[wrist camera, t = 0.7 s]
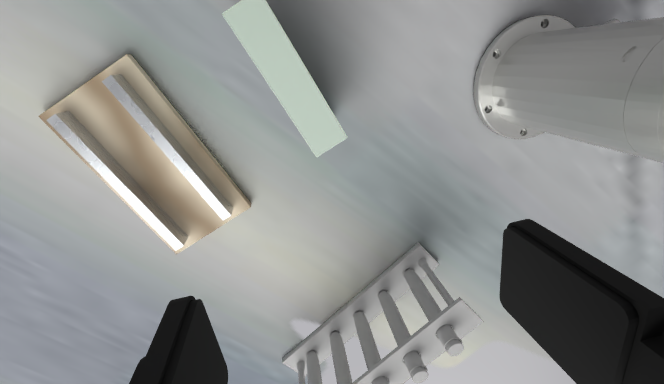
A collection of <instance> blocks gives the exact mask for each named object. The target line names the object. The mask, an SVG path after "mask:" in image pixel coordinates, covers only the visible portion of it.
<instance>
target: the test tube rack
mask: <svg viewBox="0 0 664 384" xmlns="http://www.w3.org/2000/svg"><path fill="white" fill-rule="evenodd" d="M439 265H440V264H439V263H438V262H437V261H436V260H435V259H434V258H433V257H432V256H431V255H430V254H429V253H428V252H427V250H426V249H425V248H424V247H423V246H422V245H421V244H420V243H417V244H416V245H415V246H413V247H412V248H411V249H410V250H409V251H408V252H406V253H405V254H404V255H403V256H402V257H401V258H399V259H398V260H397V261H396V262H395V263H394V264H392V265H391V266H390V267H389V268H388V269H387V270H385V271H384V272H383V273H382V274H381V275H380V276H378V277H377V278H376V279H375V280H374V281H372V282H371V283H370V284H369V285H368V286H367V287H365V288H364V289H363V290H362V291H361V292H360V293H358V294H357V295H356V296H355V297H354V298H353V299H351V300H350V301H349V302H348V303H347V304H346V305H344V306H343V307H342V308H341V309H340V310H339V311H337V312H336V313H335V314H334V315H333V316H332V317H330V318H329V319H328V320H327V321H326V322H324V323H323V324H322V325H321V326H319V327H318V328H317V329H316V330H315V331H314V332H312V333H311V334H310V335H309V336H308V337H306V338H305V339H304V340H303V341H302V342H301V343H300V344H299V345H298V346H296V347H295V348H294V349H293V350H292V351H290V352H289V353H288V354H287V355H286V356H285V357H283V358H282V363H283V364H285V365H287V366H288V367H290V368H291V369H293V370H295V371H296V372H298V376H299V384H305V376H306V375H307V376H308V384H322V379H321V371H320V364H321V363H322V362H323V361H324V360H325V359H327V358H328V357H329V356H330V355H331V354H332V357H333V362H334V368H335V373H336V379H337V384H371V383H372V384H404V383H405V382H406V381H407V380H409V379H410V378H412V380H413V381H414V382H415V383H421V382H423V381H425V380H426V379H427V378H428V373H427V368H426V366H427V365H428V364H429V363H431V362H432V361H433V360H435V359H436V358H437V357H439V356H440V355H441V354H442V353H444V352H445V351H446V352H448V354H449V355H450V356H457V355H459V354H460V353H461V352H462V351H463V349H464V346H463V344H462V341H461V339H462V338H463V337H464V336H466V335H467V334H468V333H470V332H471V331H472V330H473V329H475V328H476V327H477V326H479V325H480V324H481V323H482V322H484V321H483V320H482V319H481V318H480V317H479V316H478V315H477V314H476V313H475V312H474V311H473V310H472V309H471V308H470V307H469V306H468V305H467V304H466V303H465V302H464V301H463V300H462V299H461V298H460V297H459V298H458V299H457V300H455V301H454V300H453V299H452V297H451V296H450V295H449V293H448V292H447V291H446V289H445V288H444V286H443V285H442V284H441V282H440V281H439V280H438V278H437V277H436V276H435V274H434V273H433V270H434V269H435V268H436V267H438V266H439ZM426 276H428V277H429V279H430V280H431V281H432V283H433V284H434V286H435V287H436V289H437V290H438V292H439V293H440V294H441V296H442V297H443V299H444V300H445V302H446V303H447V305H448V307H447V308H445V309H444V310H443V311H441V310H440V308H439V306H438V305H437V303H436V302H435V300H434V299H433V297H432V296H431V294H430V293H429V291H428V290H427V288H426V286H425V285H424V283H423V282H422V279H423V278H424V277H426ZM410 289H411V291H412V292H413V294H414V296H415V298H416V299H417V301H418V303H419V305H420V306H421V308H422V310H423V312H424V313H425V315H426V317H427V319H428V320H429V322H428V323H427V324H425V325H424V326H423V327H422V328H420V329H419V330H418V331H417V332H415V333H414V334H413V335H412V336H410V334H409V331H408V329H407V327H406V325H405V323H404V321H403V319H402V317H401V315H400V313H399V311H398V308H397V306H396V304H395V301H397V300H398V299H399V298H400V297H401V296H403V295H404V294H405V293H406V292H407V291H409V290H410ZM383 311H384V314H385V316H386V318H387V321H388V323H389V326H390V328H391V330H392V333H393V335H394V338H395V340H396V342H397V345H398V347H397V348H395V349H394V350H393V351H392V352H390V353H389V354H388V355H387V356H386V357H384V358H383V359H382V360H381V359H380V355H379V353H378V350H377V347H376V344H375V341H374V338H373V335H372V332H371V329H370V326H369V323H370V322H371V321H372V320H374V319H375V318H376V317H377V316H378V315H380V314H381V313H382V312H383ZM451 326H452V327H453V328H452V327H451ZM357 333H358V337H359V340H360V344H361V347H362V351H363V354H364V358H365V361H366V365H367V368H368V371H367V372H365V373H364V374H363V375H362V376H361V377H359V378H358V379H357V380H355V381H354V382H353V383H352V379H351V375H350V370H349V365H348V362H347V357H346V352H345V348H344V344H345V343H346V342H347V341H348V340H350V339H351V338H352V337H353V336H354V335H356V334H357ZM436 334H437V335H436ZM419 353H420V355H419ZM403 359H404V361H403ZM387 378H388V379H387Z"/></svg>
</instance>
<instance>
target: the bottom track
mask: <svg viewBox="0 0 664 384" xmlns="http://www.w3.org/2000/svg"><path fill="white" fill-rule="evenodd" d="M39 117H40V118H41V119H42V120H43V121H44V122H45V123H46V124H47V125H48V126H49V127H50V128H51V129H52V130H53V131H54V132H55V133H56V134H57V135H58V136H59V137H60V138H61V139H62V140H63V141H64V142H65V143H66V144H67V145H68V146H69V147H70V148H71V149H72V150H73V151H74V152H75V153H76V154H77V155H78V156H79V157H80V158H81V159H82V160H83V161H84V162H85V163H86V164H87V165H88V166H89V167H90V168H91V169H92V170H93V171H94V172H95V173H96V174H97V175H98V176H99V177H100V178H101V179H102V180H103V181H104V182H105V183H106V184H107V185H108V186H109V187H110V188H111V189H112V190H113V191H114V192H115V193H116V194H117V195H118V196H119V197H120V198H121V199H122V200H123V201H124V202H125V203H126V204H127V205H128V206H129V207H130V208H131V209H132V210H133V211H134V212H135V213H136V214H137V215H138V216H139V217H140V218H141V219H142V220H143V221H144V222H145V223H146V224H147V225H148V226H149V227H150V228H151V229H152V230H153V231H154V232H155V233H156V234H157V235H158V236H159V237H160V238H161V239H162V240H163V241H164V242H165V243H166V244H167V245H168V246H169V247H170V248H171V249H172V250H173V251H174V252H175V253H176V254H178V253H180V252H181V251H183V250H184V249H186V248H187V247H189V246H191V245H192V244H194V243H195V242H197V241H198V240H200V239H202V238H203V237H205V236H206V235H208V234H209V233H211V232H213V231H214V230H216V229H217V228H219V227H220V226H222V225H224V224H225V223H227V222H228V221H230V220H231V219H233V218H235V217H236V216H238V215H239V214H241V213H242V212H244V211H246V210H247V209H249V208H250V207H251V203H250V201H249V200H248V199H247V198H246V196H245V195H244V194H243V193H242V191H241V190H240V189H239V188H238V186H237V185H236V184H235V183H234V181H233V180H232V179H231V178H230V177H229V175H228V174H227V173H226V172H225V170H224V169H223V168H222V167H221V165H220V164H219V163H218V162H217V160H216V159H215V158H214V157H213V155H212V154H211V153H210V152H209V150H208V149H207V148H206V147H205V146H204V144H203V143H202V142H201V141H200V139H199V138H198V137H197V136H196V134H195V133H194V132H193V131H192V129H191V128H190V127H189V126H188V124H187V123H186V122H185V121H184V120H183V118H182V117H181V116H180V115H179V113H178V112H177V111H176V110H175V108H174V107H173V106H172V105H171V103H170V102H169V101H168V100H167V98H166V97H165V96H164V95H163V93H162V92H161V91H160V90H159V89H158V87H157V86H156V85H155V84H154V82H153V81H152V80H151V79H150V77H149V76H148V75H147V74H146V72H145V71H144V70H143V69H142V67H141V66H140V65H139V64H138V62H137V61H136V60H135V59H134V58H133V56H132V55H128V54H126V55H125V56H124V57H122V58H121V59H119V60H118V61H116V62H115V63H114V64H112V65H111V66H109V67H108V68H106V69H105V70H104V71H102V72H101V73H99V74H98V75H96V76H95V77H94V78H92V79H91V80H89V81H88V82H86V83H85V84H84V85H82V86H81V87H79V88H78V89H76V90H75V91H74V92H72V93H71V94H69V95H68V96H67V97H65V98H64V99H62V100H61V101H59V102H58V103H57V104H55V105H54V106H52V107H51V108H49V109H48V110H47V111H45V112H44V113H42V114H41V115H39Z"/></svg>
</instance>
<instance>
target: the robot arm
mask: <svg viewBox="0 0 664 384" xmlns="http://www.w3.org/2000/svg"><path fill="white" fill-rule="evenodd" d="M474 100H475V106H476V109H477V112H478V115H479V116H480V118H481V120H482V121H483V123H484V124H485V125H486V126H487V127H488V128H489V129H490V130H492V131H493V132H495V133H497V134H499V135H502V136H504V137H508V138H513V139H526V138H531V137H535V136H537V135H540V134H542V133H545V132H546V133H550V134H554V135H558V136H562V137H565V138H569V139H573V140H577V141H581V142H585V143H588V144H592V145H596V146H600V147H604V148H608V149H612V150H615V151H619V152H623V153H627V154H631V155H635V156H638V157H642V158H646V159H650V160H653V161H657V162H661V163H664V17H661V18H653V19H645V20H636V21H628V22H620V21H619V20H617V19H612V20H610V21H609V22H607V23H605V24H603V25H595V26H586V27H578V28H576V27H575V26H573V25H572V24H571V23H570V22H569V21H567V20H565V19H563V18H561V17H558V16H552V15H539V16H533V17H529V18H525V19H523V20H520V21H518V22H515V23H514V24H512V25H511V26H509V27H508V28H506V29H505V30H504V31H503V32H501V33H500V34H499V35H498V36H497V37H496V38H495V39H494V40H493V42H492V43H491V44H490V46H489V47H488V48H487V50H486V52H485V53H484V55H483V57H482V59H481V61H480V64H479V66H478V69H477V72H476V77H475V81H474ZM485 107H486V108H485ZM500 301H501V303H502V305H503V307H504V308H505V309H506V310H507V312H508V313H509V314H510V315H511V316H512V317H513V318H514V319H515V320H516V321H517V322H518V323H519V324H520V325H521V326H522V327H523V328H524V329H525V330H526V331H527V332H528V333H529V334H530V336H531V337H532V338H533V339H534V340H535V341H536V342H537V343H538V344H539V345H540V346H541V347H542V348H543V349H544V350H545V351H546V352H547V353H548V354H549V355H550V356H551V357H552V358H553V360H554V361H555V362H556V363H557V364H558V365H559V366H560V367H561V368H562V369H563V370H564V371H565V372H566V373H567V374H568V375H569V376H570V377H571V378H572V379H573V380H574V381H575V382H576V384H664V298H662V297H661V296H659V295H657V294H656V293H654V292H652V291H651V290H649V289H647V288H646V287H644V286H642V285H640V284H639V283H637V282H635V281H634V280H632V279H630V278H629V277H627V276H625V275H624V274H622V273H620V272H619V271H617V270H615V269H614V268H612V267H610V266H608V265H607V264H605V263H603V262H602V261H600V260H598V259H597V258H595V257H593V256H592V255H590V254H588V253H587V252H585V251H583V250H582V249H580V248H578V247H576V246H575V245H573V244H571V243H570V242H568V241H566V240H565V239H563V238H561V237H560V236H558V235H556V234H555V233H553V232H551V231H550V230H548V229H546V228H545V227H543V226H541V225H539V224H538V223H536V222H534V221H533V220H530V219H525V220H521V221H516V222H512V223H510V224H509V225H508V226H507V229H505V230H504V233H503V248H502V265H501V282H500ZM227 382H228V370H227V365H226V363H225V360H224V357H223V355H222V352H221V349H220V347H219V344H218V342H217V339H216V336H215V334H214V331H213V328H212V326H211V323H210V320H209V318H208V315H207V313H206V310H205V307H204V305H203V302H202V300H201V299H198V300H195V298H194V297H193V296H188V297H183V298H179V299H175V300H171V301H170V302H169V304H168V306H167V308H166V311H165V313H164V315H163V318H162V320H161V322H160V325H159V327H158V329H157V331H156V334H155V336H154V338H153V341H152V343H151V345H150V348H149V350H148V352H147V355H146V357H144V358H142V359H141V360H140V362H139V363H138V365H137V367H136V370H135V372H134V374H133V376H132V378H131V381H130V383H129V384H227Z"/></svg>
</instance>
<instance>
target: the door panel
mask: <svg viewBox="0 0 664 384" xmlns="http://www.w3.org/2000/svg"><path fill="white" fill-rule="evenodd" d="M222 15H223V17H224V18H225V20H226V21H227V23H228V24H229V26H230V27H231V29H232V30H233V32H234V33H235V35H236V36H237V38H238V39H239V41H240V42H241V44H242V45H243V47H244V48H245V50H246V51H247V53H248V54H249V56H250V58H251V59H252V61H253V62H254V64H255V65H256V67H257V68H258V70H259V71H260V73H261V74H262V76H263V77H264V79H265V80H266V82H267V83H268V85H269V86H270V88H271V89H272V91H273V92H274V94H275V95H276V97H277V98H278V100H279V102H280V103H281V105H282V106H283V108H284V109H285V111H286V112H287V114H288V115H289V117H290V118H291V120H292V121H293V123H294V124H295V126H296V127H297V129H298V130H299V132H300V133H301V135H302V136H303V138H304V139H305V141H306V143H307V144H308V146H309V147H310V149H311V150H312V152H313V153H314V155H315V156H316V158H317V157H318V156H320V155H321V154H323V153H325V152H326V151H328V150H329V149H331V148H332V147H334V146H336V145H337V144H339V143H340V142H342V141H343V140H345V139H346V138H348V137H347V136H346V134H345V132H344V131H343V129H342V127H341V126H340V124H339V122H338V121H337V119H336V117H335V116H334V114H333V112H332V110H331V109H330V107H329V105H328V104H327V102H326V100H325V99H324V97H323V95H322V94H321V92H320V90H319V89H318V87H317V85H316V84H315V82H314V80H313V79H312V77H311V75H310V74H309V72H308V70H307V69H306V67H305V65H304V64H303V62H302V60H301V58H300V57H299V55H298V53H297V52H296V50H295V48H294V47H293V45H292V43H291V42H290V40H289V38H288V37H287V35H286V33H285V32H284V30H283V28H282V27H281V25H280V23H279V22H278V20H277V18H276V17H275V15H274V13H273V12H272V10H271V8H270V7H269V5H268V3H267V1H266V0H241V1H240V2H238V3H237V4H235V5H234V6H232V7H231V8H229V9H228V10H227V11H225V12H224V13H222Z"/></svg>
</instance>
